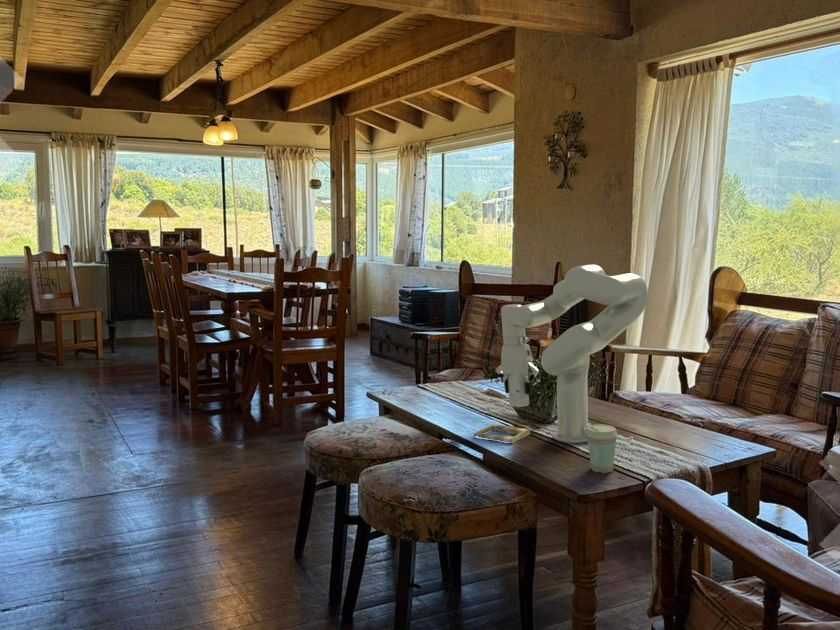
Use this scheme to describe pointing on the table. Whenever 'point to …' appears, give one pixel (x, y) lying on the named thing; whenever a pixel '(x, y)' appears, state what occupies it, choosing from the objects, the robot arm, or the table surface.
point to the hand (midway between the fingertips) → (518, 392)
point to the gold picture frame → (513, 430)
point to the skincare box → (517, 390)
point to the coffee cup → (601, 447)
